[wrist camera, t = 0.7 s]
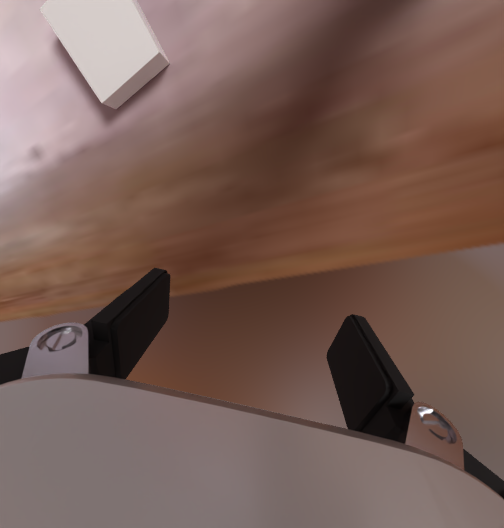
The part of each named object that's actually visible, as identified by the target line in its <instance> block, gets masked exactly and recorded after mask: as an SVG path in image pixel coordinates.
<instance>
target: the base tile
mask: <svg viewBox="0 0 504 528" xmlns="http://www.w3.org/2000/svg"><path fill="white" fill-rule="evenodd" d="M40 11H41V12H42V14H43V15H44V17H45V18H46V20H47V21H48V23H49V24H50V26H51V28H52V29H53V31H54V32H55V34H56V35H57V37H58V38H59V40H60V41H61V43H62V44H63V46H64V47H65V49H66V50H67V52H68V53H69V55H70V56H71V58H72V59H73V61H74V62H75V64H76V65H77V67H78V68H79V70H80V71H81V73H82V74H83V76H84V77H85V79H86V80H87V82H88V83H89V85H90V86H91V88H92V90H93V91H94V93H95V94H96V96H97V97H98V99H99V100H100V102H101V103H102V104H104V105H107V106H109V107H112V108H114V109H117V108H118V107H120V106H121V105H122V104H123V103H124V102H125V101H127V100H128V99H129V98H130V97H131V96H132V95H134V94H135V93H136V92H137V91H138V90H139V89H141V88H142V87H143V86H144V85H145V84H146V83H148V82H149V81H150V80H151V79H152V78H153V77H155V76H156V75H157V74H158V73H159V72H160V71H162V70H163V69H164V68H165V67H166V66H167V65H169V64H170V63H169V61H168V59H167V57H166V55H165V53H164V51H163V49H162V48H161V46H160V44H159V42H158V40H157V38H156V36H155V34H154V32H153V30H152V29H151V27H150V25H149V23H148V21H147V19H146V17H145V15H144V13H143V11H142V10H141V8H140V6H139V4H138V2H137V0H47V1H46V2H45V3H44V4H43V6H42V7H41V8H40Z"/></svg>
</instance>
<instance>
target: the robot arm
mask: <svg viewBox="0 0 504 528" xmlns="http://www.w3.org/2000/svg"><path fill="white" fill-rule="evenodd" d="M169 293H170V274H167V271H166V270H162V269H158V268H154V269H152V270H151V271H150V272H149V273H148V274H146V275H145V276H144V277H143V278H141V279H140V280H139V281H138V282H137V283H135V284H134V285H133V286H132V287H131V288H129V289H128V290H126V291H125V292H124V293H122V294H121V295H120V296H119V297H117V298H116V299H115V300H114V301H113V302H111V303H110V304H109V305H108V306H106V307H105V308H104V309H103V310H101V312H99V313H98V314H97V315H95V316H94V317H93V318H92V319H90V320H89V321H88V322H87V323H86V324H84V325H82V324H79V323H64V324H60V325H56V326H53V327H51V328H48V329H46V330H45V331H43V332H41V333H40V334H38V335H37V336H36V337H35V338H34V339H33V340H32V342H31V344H30V347H26V348H23V349H19V350H15V351H11V352H8V353H4V354H1V355H0V528H504V481H503V480H502V479H500V478H499V477H498V476H497V475H495V474H494V473H493V472H492V471H490V470H489V469H488V468H487V467H486V466H484V465H483V464H482V463H481V462H479V461H478V460H477V459H476V458H474V457H473V456H472V455H471V454H469V453H468V452H467V451H465V450H464V449H463V443H462V439H461V436H460V434H459V432H458V431H457V429H456V428H455V427H454V425H453V424H452V423H451V422H450V421H449V420H448V419H447V418H446V417H445V416H444V415H443V414H442V413H440V412H439V411H438V410H437V409H435V408H433V407H432V406H430V405H428V404H426V403H422V402H417V403H414V402H413V400H412V397H413V396H414V394H413V392H412V390H411V389H410V387H409V386H408V384H407V382H406V381H405V380H404V378H403V376H402V375H401V373H400V372H399V370H398V369H397V367H396V365H395V364H394V362H393V361H392V359H391V358H390V356H389V355H388V353H387V351H386V350H385V348H384V347H383V345H382V344H381V342H380V341H379V339H378V337H377V336H376V334H375V333H374V331H373V330H372V328H371V327H370V325H369V323H368V322H367V320H366V319H365V318H364V317H362V316H358V315H353V314H352V315H350V316H347V317H346V319H345V320H344V322H343V324H342V326H341V328H340V330H339V331H338V333H337V335H336V337H335V339H334V341H333V343H332V345H331V346H330V348H329V350H328V352H327V361H328V364H329V368H330V370H331V374H332V378H333V381H334V384H335V388H336V391H337V394H338V397H339V401H340V404H341V407H342V411H343V414H344V417H345V421H346V424H347V427H348V429H345V428H340V427H336V426H332V425H328V424H323V423H319V422H315V421H310V420H306V419H302V418H297V417H293V416H289V415H284V414H280V413H275V412H271V411H267V410H262V409H258V408H254V407H249V406H245V405H240V404H236V403H232V402H227V401H223V400H218V399H214V398H209V397H205V396H200V395H196V394H191V393H187V392H182V391H177V390H173V389H169V388H164V387H160V386H155V385H150V384H145V383H140V382H134V381H130V380H125V379H126V378H127V377H128V375H129V374H130V372H131V371H132V369H133V368H134V367H135V365H136V364H137V362H138V361H139V359H140V358H141V357H142V355H143V354H144V352H145V351H146V349H147V348H148V346H149V345H150V344H151V342H152V341H153V339H154V338H155V337H156V335H157V334H158V332H159V331H160V329H161V328H162V327H163V325H164V324H165V322H166V321H167V318H168V313H169Z"/></svg>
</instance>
